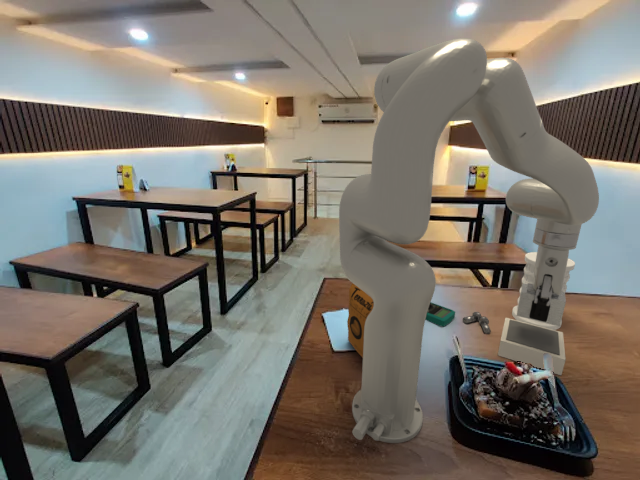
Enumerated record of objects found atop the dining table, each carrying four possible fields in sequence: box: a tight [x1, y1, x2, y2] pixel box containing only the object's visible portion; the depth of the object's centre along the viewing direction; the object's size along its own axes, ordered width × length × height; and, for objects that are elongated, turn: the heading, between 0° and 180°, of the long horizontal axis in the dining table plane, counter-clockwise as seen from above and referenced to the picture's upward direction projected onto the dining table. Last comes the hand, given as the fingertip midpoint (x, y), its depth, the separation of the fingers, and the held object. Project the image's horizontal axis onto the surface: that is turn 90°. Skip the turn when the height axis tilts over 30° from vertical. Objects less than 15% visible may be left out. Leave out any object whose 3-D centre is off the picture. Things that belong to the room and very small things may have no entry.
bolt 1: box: [462, 311, 482, 324], centre depth 87 cm, size 5×2×2 cm, turn 111°
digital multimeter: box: [425, 301, 456, 328], centre depth 92 cm, size 7×15×3 cm, turn 43°
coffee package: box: [346, 282, 374, 359], centre depth 72 cm, size 10×12×22 cm
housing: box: [517, 283, 567, 328], centre depth 71 cm, size 8×6×7 cm
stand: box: [497, 317, 567, 376], centre depth 75 cm, size 12×12×4 cm
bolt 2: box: [478, 315, 492, 335], centre depth 84 cm, size 5×2×2 cm, turn 166°
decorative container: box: [511, 251, 576, 331], centre depth 86 cm, size 12×12×18 cm
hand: (538, 312), depth 72 cm, fingers closed on housing, 5 cm apart
